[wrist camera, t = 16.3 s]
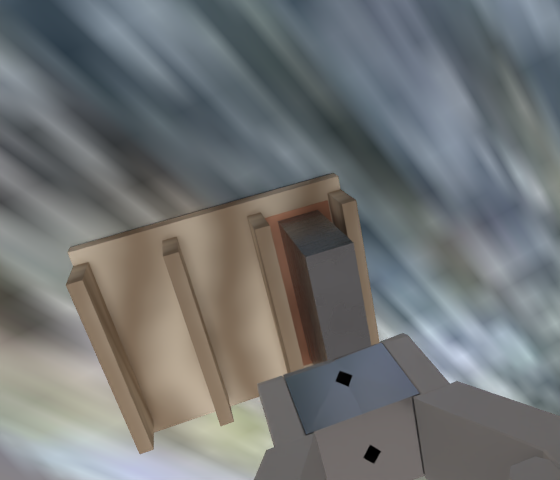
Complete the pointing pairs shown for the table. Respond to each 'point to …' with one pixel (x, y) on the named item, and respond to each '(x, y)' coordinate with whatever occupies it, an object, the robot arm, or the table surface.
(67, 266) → the table surface
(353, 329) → the blanking panel
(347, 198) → the rack
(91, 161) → the table surface
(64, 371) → the table surface
